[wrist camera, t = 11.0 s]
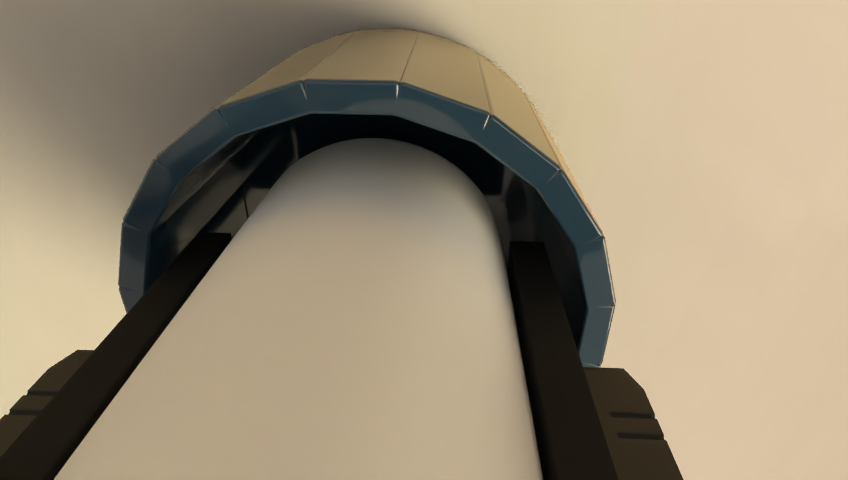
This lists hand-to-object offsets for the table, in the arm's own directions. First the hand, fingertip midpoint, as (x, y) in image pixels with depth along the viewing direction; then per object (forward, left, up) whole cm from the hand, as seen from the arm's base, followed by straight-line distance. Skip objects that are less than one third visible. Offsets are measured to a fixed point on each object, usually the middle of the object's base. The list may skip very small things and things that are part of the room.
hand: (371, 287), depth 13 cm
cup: (0, 0, -5) cm, 5 cm away
